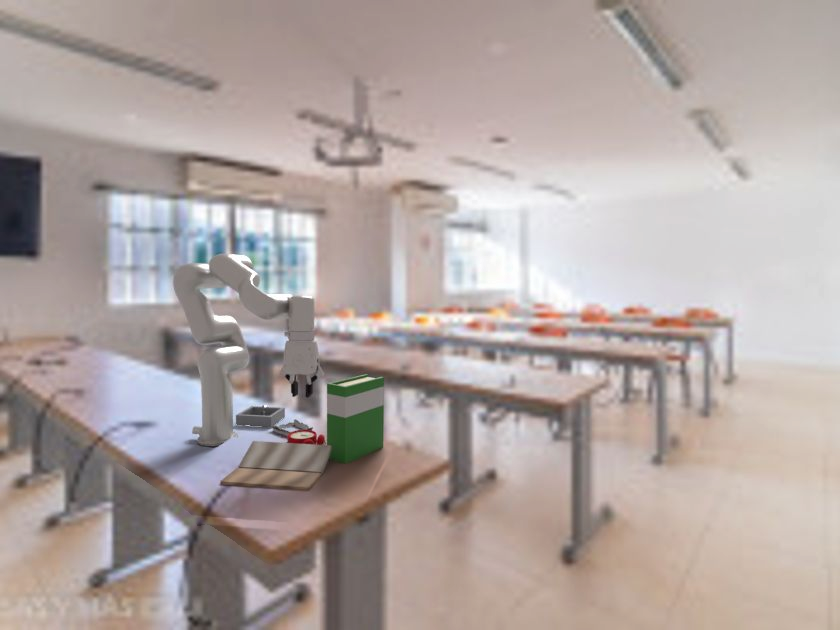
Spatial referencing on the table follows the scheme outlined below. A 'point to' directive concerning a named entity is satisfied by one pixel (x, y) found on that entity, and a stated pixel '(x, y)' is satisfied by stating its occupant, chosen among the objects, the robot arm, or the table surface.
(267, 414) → the bacteriophage
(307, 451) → the grey oak plank
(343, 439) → the hardback book
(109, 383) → the table surface
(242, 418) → the grey tray
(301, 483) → the walnut plank
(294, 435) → the alarm clock
